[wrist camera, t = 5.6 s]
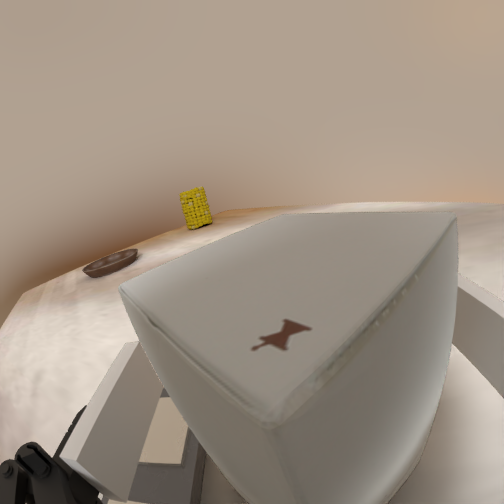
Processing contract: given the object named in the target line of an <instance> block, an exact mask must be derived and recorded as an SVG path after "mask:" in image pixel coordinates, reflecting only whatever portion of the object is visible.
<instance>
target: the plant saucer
mask: <svg viewBox="0 0 504 504" xmlns="http://www.w3.org/2000/svg"><path fill="white" fill-rule="evenodd" d="M137 252H138V249H128V250H124V251H121V252H117V253H114V254H111V255H109V256H106V257H104V258H101V259H99V260H97V261H95V262H93V263H91V264H89V265H87V266H86V267H85V268H84V269H83V270H82V271H83V272H84V273H85V274H87V275H88V276H90V277H92V278H97V277H102V276H105V275H109V274H111V273H114V272H116V271H119V270H121V269H123V268H125V267H127V266H128V265H130V264H131V263H133V262H134V261H135V259H136V256H137Z"/></svg>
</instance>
